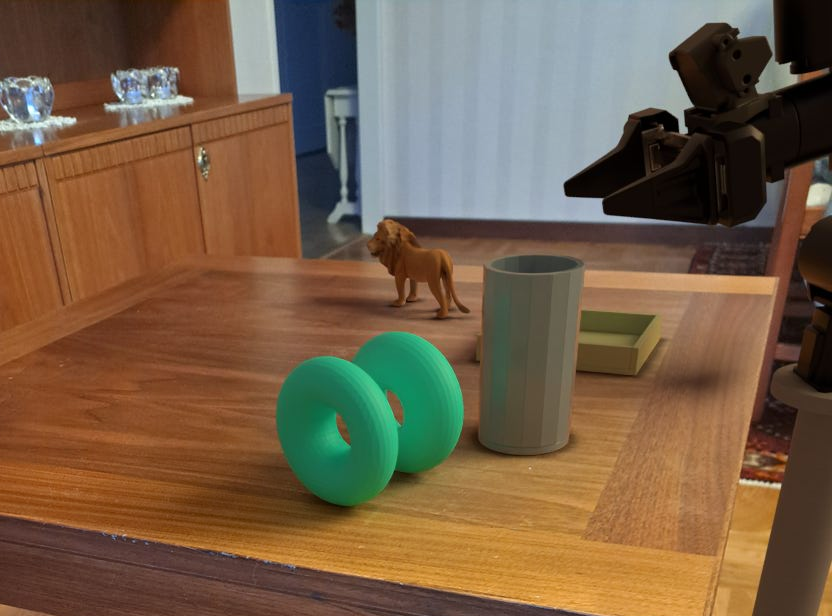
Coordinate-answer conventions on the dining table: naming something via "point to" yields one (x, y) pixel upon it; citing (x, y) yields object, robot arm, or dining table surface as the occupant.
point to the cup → (529, 351)
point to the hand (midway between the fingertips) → (582, 198)
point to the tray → (613, 340)
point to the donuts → (368, 417)
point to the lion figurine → (414, 265)
